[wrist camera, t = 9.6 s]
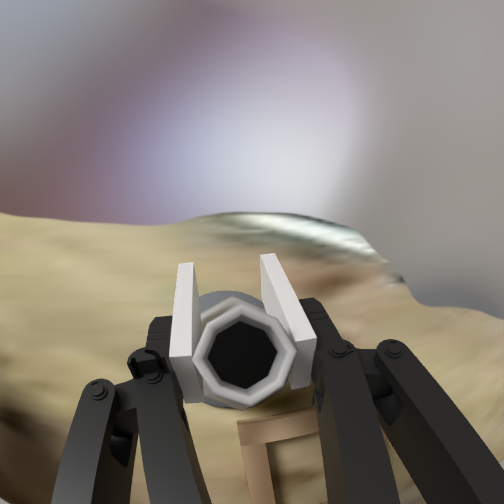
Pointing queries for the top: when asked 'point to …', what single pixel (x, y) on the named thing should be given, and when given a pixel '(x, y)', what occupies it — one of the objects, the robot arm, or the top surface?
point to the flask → (242, 353)
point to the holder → (270, 430)
